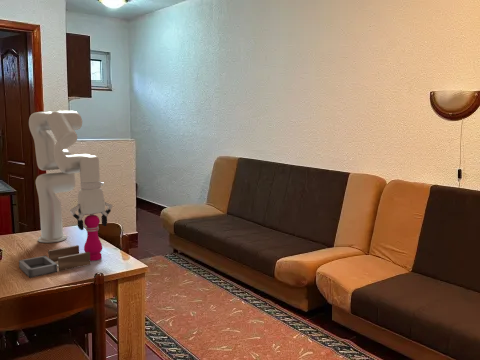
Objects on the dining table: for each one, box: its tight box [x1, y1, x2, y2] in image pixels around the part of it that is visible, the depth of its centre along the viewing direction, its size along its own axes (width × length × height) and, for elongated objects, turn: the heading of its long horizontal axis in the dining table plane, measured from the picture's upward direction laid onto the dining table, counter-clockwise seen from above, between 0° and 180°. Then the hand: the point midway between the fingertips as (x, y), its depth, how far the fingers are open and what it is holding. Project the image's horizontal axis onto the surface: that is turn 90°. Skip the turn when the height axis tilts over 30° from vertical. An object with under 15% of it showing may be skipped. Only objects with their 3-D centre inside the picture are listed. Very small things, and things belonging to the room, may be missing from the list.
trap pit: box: [18, 255, 58, 279], centre depth 177 cm, size 14×10×3 cm
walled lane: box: [47, 244, 91, 272], centre depth 185 cm, size 13×12×5 cm
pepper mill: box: [83, 214, 103, 262], centre depth 190 cm, size 7×7×20 cm
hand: (92, 227), depth 189 cm, fingers open, 9 cm apart
